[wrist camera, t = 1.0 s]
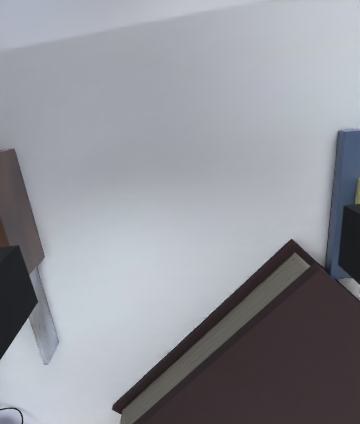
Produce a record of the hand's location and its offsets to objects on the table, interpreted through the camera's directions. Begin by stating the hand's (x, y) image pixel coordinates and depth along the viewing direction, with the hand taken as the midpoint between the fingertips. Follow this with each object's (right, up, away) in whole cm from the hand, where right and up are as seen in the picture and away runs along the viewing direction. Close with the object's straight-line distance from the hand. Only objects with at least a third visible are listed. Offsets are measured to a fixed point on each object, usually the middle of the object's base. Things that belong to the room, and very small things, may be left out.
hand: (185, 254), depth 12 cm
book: (+8, -17, +21) cm, 28 cm away
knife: (-14, -3, +15) cm, 20 cm away
